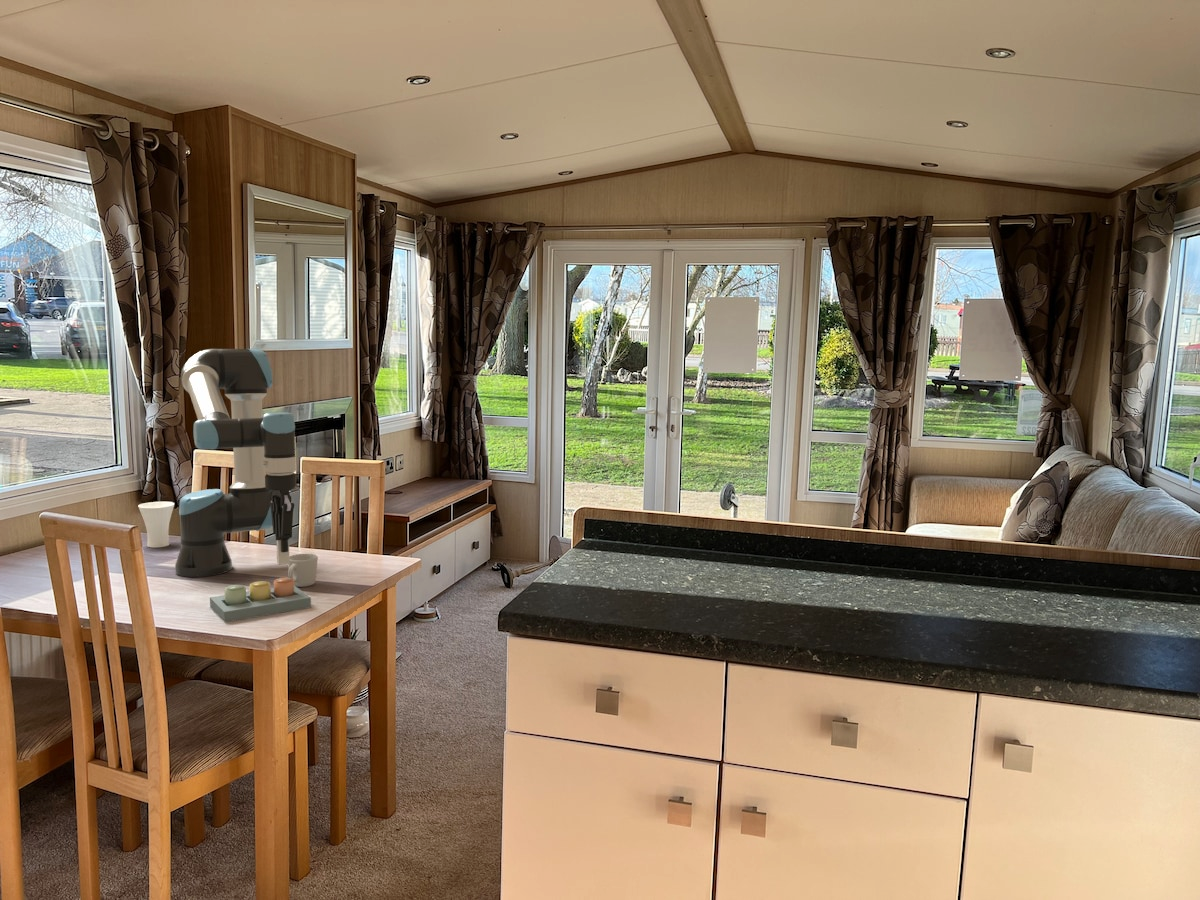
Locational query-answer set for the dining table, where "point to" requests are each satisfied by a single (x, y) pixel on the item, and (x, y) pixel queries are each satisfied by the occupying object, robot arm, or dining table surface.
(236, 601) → the button sage
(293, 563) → the cup
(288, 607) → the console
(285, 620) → the dining table surface
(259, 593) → the button ochre
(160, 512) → the cup
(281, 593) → the button terracotta
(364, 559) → the dining table surface
